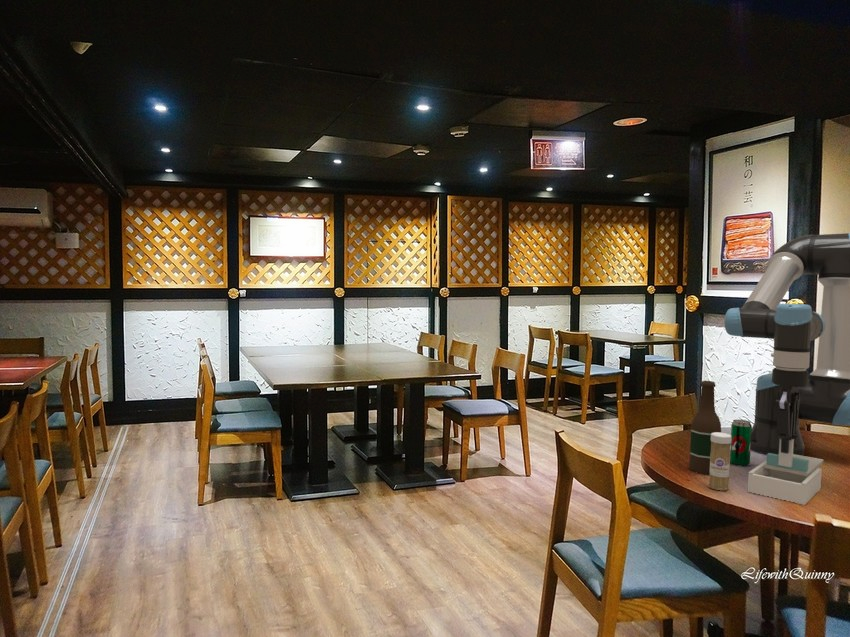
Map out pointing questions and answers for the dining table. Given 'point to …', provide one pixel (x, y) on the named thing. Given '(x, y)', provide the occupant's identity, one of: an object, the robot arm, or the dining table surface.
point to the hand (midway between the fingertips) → (785, 465)
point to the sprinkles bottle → (719, 461)
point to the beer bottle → (703, 430)
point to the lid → (794, 464)
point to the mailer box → (784, 484)
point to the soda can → (740, 442)
